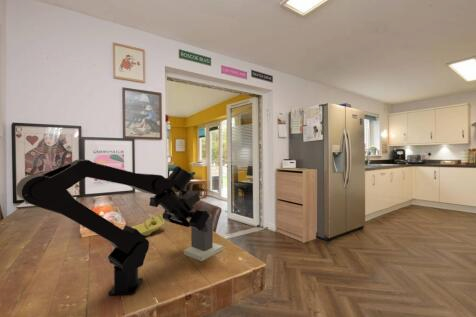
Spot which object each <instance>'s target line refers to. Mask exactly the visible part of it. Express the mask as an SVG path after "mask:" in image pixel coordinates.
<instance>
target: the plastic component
mask: <svg viewBox="0 0 476 317" xmlns="http://www.w3.org/2000/svg"><path fill="white" fill-rule="evenodd" d="M165 222H166V220H164V219H163V214H161V213H157V214H156V215H155V216H154V217H150V218H148V219H147V220H145V222H143V223H140V224H137V225H133V226H131V227H132V228H135V229H137V230H138V231H139V232H140V233H141V234H144V235H146V236H147V237H148V236H149V235H151V234H152V232H153V233H154V232H156V231H157V230H159V229H160V228H162V227H163V225H164V223H165ZM116 226H117V227H119V225H116Z"/></svg>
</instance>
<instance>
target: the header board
mask: <svg viewBox="0 0 476 317" xmlns="http://www.w3.org/2000/svg"><path fill="white" fill-rule="evenodd" d="M222 251H224V245H222V244H219V243H215V242H213V248H211V249H209V250H207V251H202V250H199V249H197V248H194V247H191V246H189V247H187V248H186V249H183V255H185V256H188V257H190V258H192V259H195V260H196V261H200V262H204V261H205V260H207V259H208V258H210V257H212V256H214V255H216V254H218V253H220V252H222Z"/></svg>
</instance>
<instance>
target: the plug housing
mask: <svg viewBox="0 0 476 317" xmlns="http://www.w3.org/2000/svg"><path fill="white" fill-rule="evenodd" d="M206 225H207V228H208V231H207V233H206V232H202V231H198V230H194V229H193V228H191V227H190V230H191V233H190V234H191V235H190V236H191V237H190V238H191V242H190V243H191V247H194V248H197V249H199V250H202V251H207V250H209V249H211V248H213V243H214V242H213V214H210V216H209V218H208V219H207V221H206Z"/></svg>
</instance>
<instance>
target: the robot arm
mask: <svg viewBox="0 0 476 317" xmlns="http://www.w3.org/2000/svg"><path fill="white" fill-rule="evenodd" d="M86 178H90V179H93V180H99V181H104V182H110V183H114V184H118V185H119V184H120V185H125V186H128V187H131V188H132V189H135V190H137V191H139V192H142V193H144V194H150V195H153V196H151V197H149V206H150V207H153V208H157V207H159V206H161V207H162V208H163V209H164V211H163V213H162V217H163V219H164V220H165V222H168V223H171V224H175V225H179V226H181V227H186V228H190V229H191V228H193V229H194V230H198V231H202V232H206V233H207V231H208V228H207V225H206V221H207V219H208V218H209V216H210V215H211V214H210V212H208V210H205V209H201V208H200V209H196V210H195V211H193V209H194V205H195V204H196V203H198V202H200V201H201V197H200V194H199V192H198V190H197V191H196V190H185V189H186V187H187V186H188V185H189V183H190V182H191V181H192V179H193V175H192V174H191V173H190V172H188V171H186V170H185V169H184V168H182V167H181V166H175V167H174V169H173V170H172V172H171V173H170V174H169V175H168V176H167V177H164V176H163V175H161V174H155V173H154V174H153V173H137V172H132V171H130V170H125V169H122V168H117V167H113V166H111V165H110V166H109V165H105V164H101V163H98V162H94V161H91V160H89V159H81V158H80V159H75V160H73V161H72V162H70V163H67V164H66V165H62V166H60V167H58V168H54V169H51V170H50V171H47V172H45V173H43V174H31V175H30V174H29V175H26V176H25V177H24V178H22V179H20V180H19V182H18V183H17V184H16V187H15V192H16V195H17V196H18V197H19V198H20V199H22V200H23V201H24V202H26V203H28V204H30V205H33V206H35V207H39V208H41V209H44V210H47V211H50V212H53V213H57V214H60V215H63V216H64V217H66V218H68V219H69V220H71V221H73V222H75V223H77V224H78V225H81V226H82V227H84V228H86V229H87V230H89V231H91V232H92V233H94V234H96V235H98V236H100V237H101V238H103V239H105V240H106V241H108V242H109V244H110V245H111V246H112V247H113V250H112V251H111V252H110V253H109V255H108V256H107V260H108V262H109V264H111V265H113V280H114V281H113V286H112V287H111V289H110V290H109V291H108V293H107V294H108V296H118V295H120V296H121V295H135V293H136V292H137V290H138V288H139V287H140V285H141V284H142V282H143V281H144V279H143V278H141V277H139V268H141V267H143V266H144V262H145V258H146V255H147V253H148V250H149V248H150V242H149V240H148V239H147V238H148V235H147V236H146V235H144V234H141V233H140V232H139V231H138V230H137V229H135V228H132V227H133V226H129V225H127V224H126V225H124V227H123V229H122V228H121V227H119V226H118V225H116V224H114V223H113V222H111V221H109V220H107V219H106V218H105V217H103V216H101V215H100V214H99V213H98V212H95V211H93V210H92V209H91V208H89V207H87V206H85V205H84V204H82V203H81V202H79V201H78V200H77V199H76V198H75V197H74V196H73V195H72V194H71V193H70V192H69V189H70V188H72V187H73V186H75V185H76V184H77V183H79V182H81V181H82V180H84V179H86ZM177 193H178V194H177ZM117 226H118V227H117Z"/></svg>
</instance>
